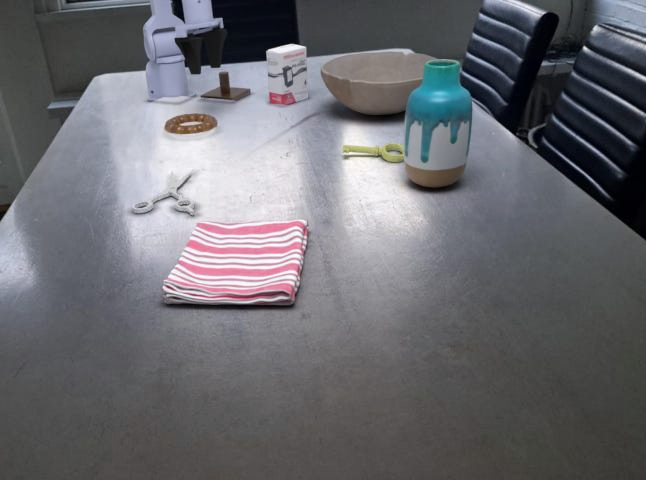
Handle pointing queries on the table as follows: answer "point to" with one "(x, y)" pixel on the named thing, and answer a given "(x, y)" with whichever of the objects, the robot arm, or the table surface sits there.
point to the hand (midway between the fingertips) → (206, 71)
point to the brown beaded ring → (176, 128)
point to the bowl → (375, 80)
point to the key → (378, 151)
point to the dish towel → (239, 264)
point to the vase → (437, 126)
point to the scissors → (169, 191)
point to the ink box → (287, 74)
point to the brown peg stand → (226, 90)
